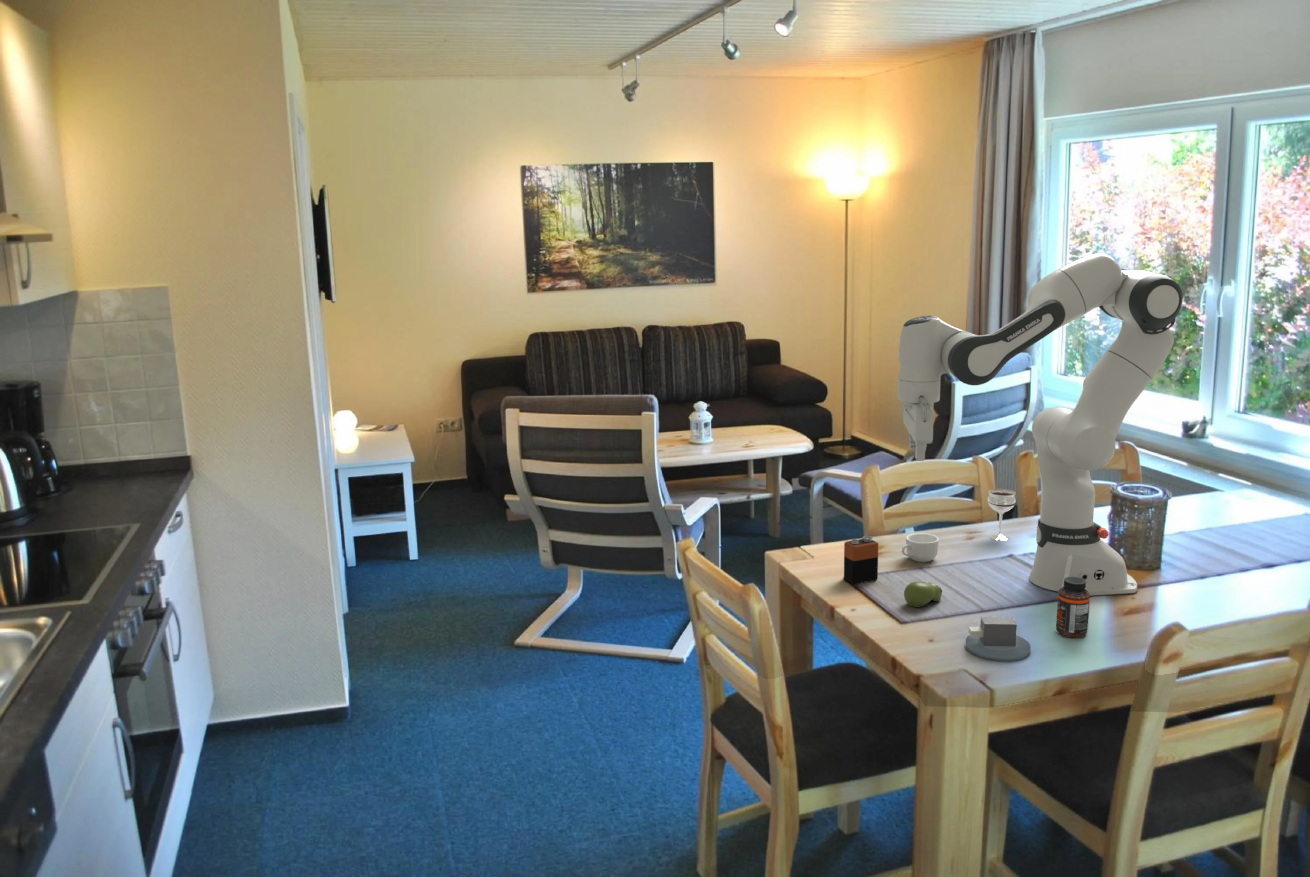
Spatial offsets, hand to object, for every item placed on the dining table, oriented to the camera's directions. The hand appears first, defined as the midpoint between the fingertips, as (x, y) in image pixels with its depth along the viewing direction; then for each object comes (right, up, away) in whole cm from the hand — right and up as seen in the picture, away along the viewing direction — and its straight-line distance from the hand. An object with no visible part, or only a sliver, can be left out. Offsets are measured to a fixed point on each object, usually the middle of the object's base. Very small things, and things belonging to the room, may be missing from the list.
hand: (916, 454), depth 226 cm
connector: (+8, -36, -25) cm, 44 cm away
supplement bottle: (+26, -36, -18) cm, 48 cm away
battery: (-10, -29, +14) cm, 34 cm away
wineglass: (+32, -22, +41) cm, 56 cm away
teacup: (+7, -26, +26) cm, 37 cm away
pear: (+1, -32, -1) cm, 32 cm away
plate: (+10, -37, -24) cm, 45 cm away
